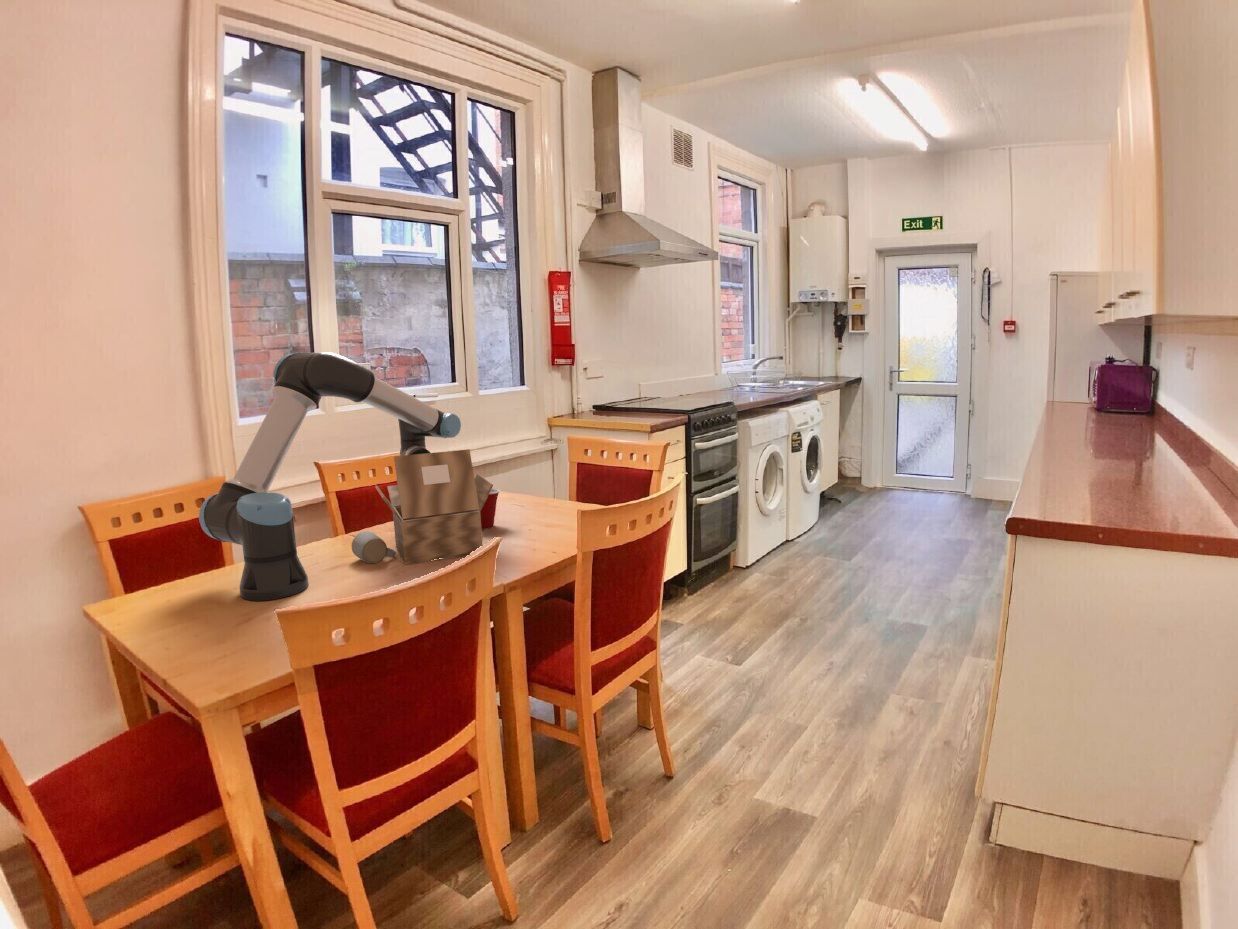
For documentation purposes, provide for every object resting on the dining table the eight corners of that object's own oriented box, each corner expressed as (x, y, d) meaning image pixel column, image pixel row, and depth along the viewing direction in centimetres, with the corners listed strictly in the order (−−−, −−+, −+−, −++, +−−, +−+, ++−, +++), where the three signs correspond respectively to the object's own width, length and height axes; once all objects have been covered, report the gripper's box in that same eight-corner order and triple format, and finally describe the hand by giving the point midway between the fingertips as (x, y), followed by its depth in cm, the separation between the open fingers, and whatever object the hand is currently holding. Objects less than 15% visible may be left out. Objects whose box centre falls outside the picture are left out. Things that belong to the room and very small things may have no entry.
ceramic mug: (363, 567, 194) (361, 539, 193) (352, 560, 200) (349, 533, 199) (401, 559, 201) (399, 532, 199) (389, 553, 207) (387, 526, 206)
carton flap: (402, 519, 193) (402, 519, 192) (393, 457, 196) (393, 456, 196) (479, 509, 201) (479, 509, 200) (469, 449, 204) (469, 449, 204)
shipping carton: (388, 567, 193) (382, 497, 190) (377, 543, 216) (371, 480, 213) (498, 551, 205) (493, 484, 201) (476, 529, 228) (472, 469, 225)
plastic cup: (509, 524, 233) (507, 487, 231) (485, 532, 224) (483, 494, 222) (483, 520, 239) (481, 484, 236) (460, 528, 230) (457, 491, 228)
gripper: (441, 469, 226) (458, 482, 205) (398, 473, 221) (410, 487, 200) (439, 445, 225) (456, 455, 204) (396, 449, 220) (408, 460, 199)
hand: (433, 471), depth 202 cm, fingers closed
